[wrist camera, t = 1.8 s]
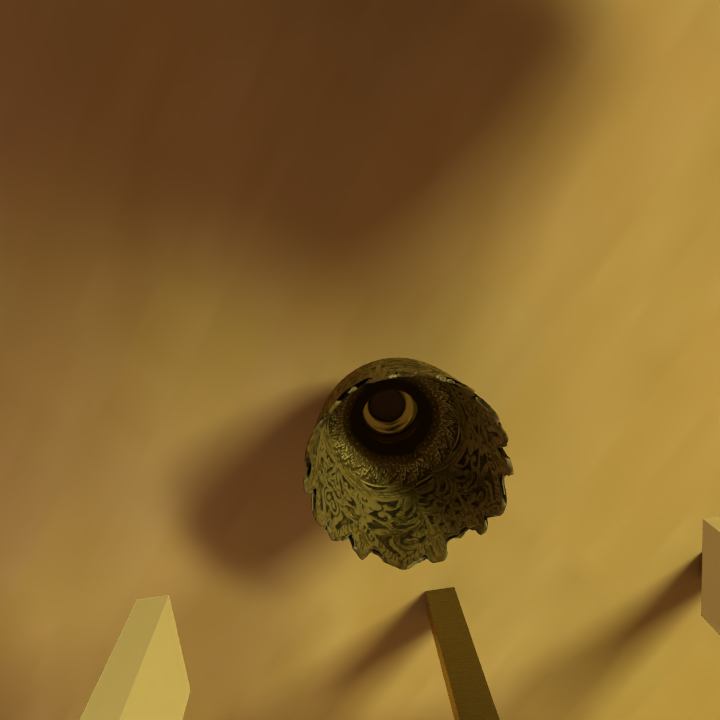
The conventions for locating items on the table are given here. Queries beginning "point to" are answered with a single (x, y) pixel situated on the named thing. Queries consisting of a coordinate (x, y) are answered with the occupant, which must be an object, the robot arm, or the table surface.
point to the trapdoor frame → (458, 658)
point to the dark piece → (406, 463)
